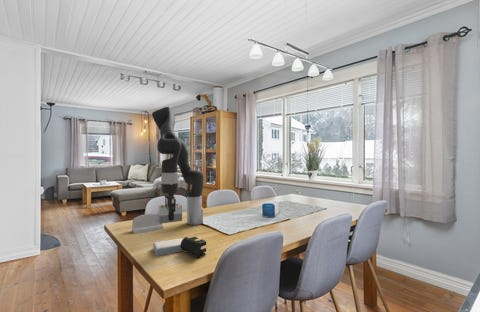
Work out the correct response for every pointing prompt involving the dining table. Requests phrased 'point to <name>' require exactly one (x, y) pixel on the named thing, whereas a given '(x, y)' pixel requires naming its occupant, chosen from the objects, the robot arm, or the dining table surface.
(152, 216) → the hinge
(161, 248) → the stand
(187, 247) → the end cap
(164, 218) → the housing
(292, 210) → the dining table surface
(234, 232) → the dining table surface
